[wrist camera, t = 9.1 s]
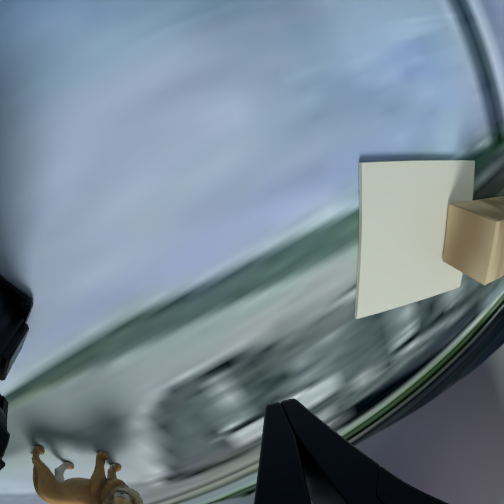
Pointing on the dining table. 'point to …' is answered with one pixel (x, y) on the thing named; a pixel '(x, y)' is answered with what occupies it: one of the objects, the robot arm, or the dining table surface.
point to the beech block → (476, 238)
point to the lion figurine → (81, 484)
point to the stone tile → (406, 230)
